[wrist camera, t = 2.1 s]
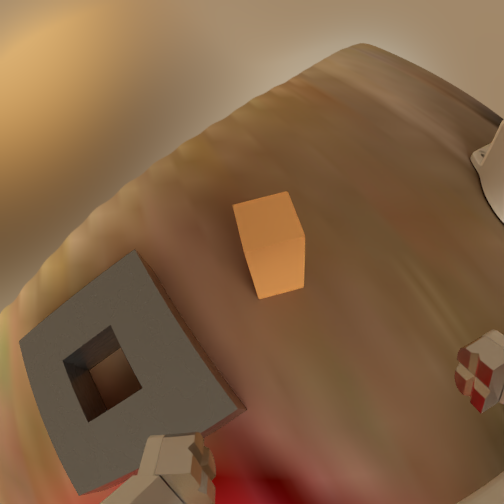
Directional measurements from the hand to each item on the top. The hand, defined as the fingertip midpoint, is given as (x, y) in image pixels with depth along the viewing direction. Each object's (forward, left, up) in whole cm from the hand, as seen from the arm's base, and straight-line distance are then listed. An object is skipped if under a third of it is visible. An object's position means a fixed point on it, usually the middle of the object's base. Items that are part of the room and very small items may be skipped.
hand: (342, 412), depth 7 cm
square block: (-5, -11, -15) cm, 20 cm away
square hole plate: (+12, -11, -15) cm, 22 cm away
